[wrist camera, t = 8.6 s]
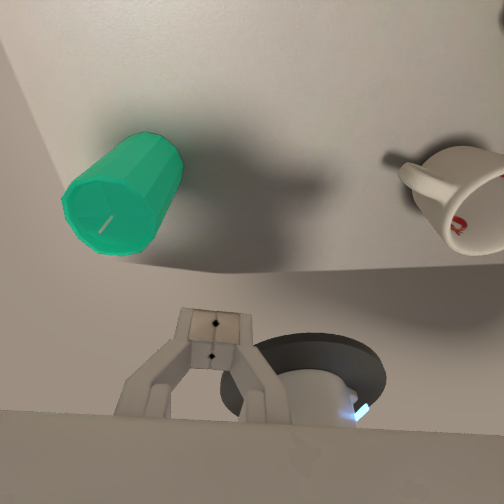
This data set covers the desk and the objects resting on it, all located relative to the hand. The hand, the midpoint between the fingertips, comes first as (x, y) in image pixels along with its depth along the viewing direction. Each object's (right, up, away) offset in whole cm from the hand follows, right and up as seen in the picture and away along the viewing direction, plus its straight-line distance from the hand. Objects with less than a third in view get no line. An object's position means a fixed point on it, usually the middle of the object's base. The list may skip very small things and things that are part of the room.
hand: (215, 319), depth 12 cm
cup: (+19, +11, +16) cm, 27 cm away
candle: (-8, +11, +15) cm, 20 cm away
